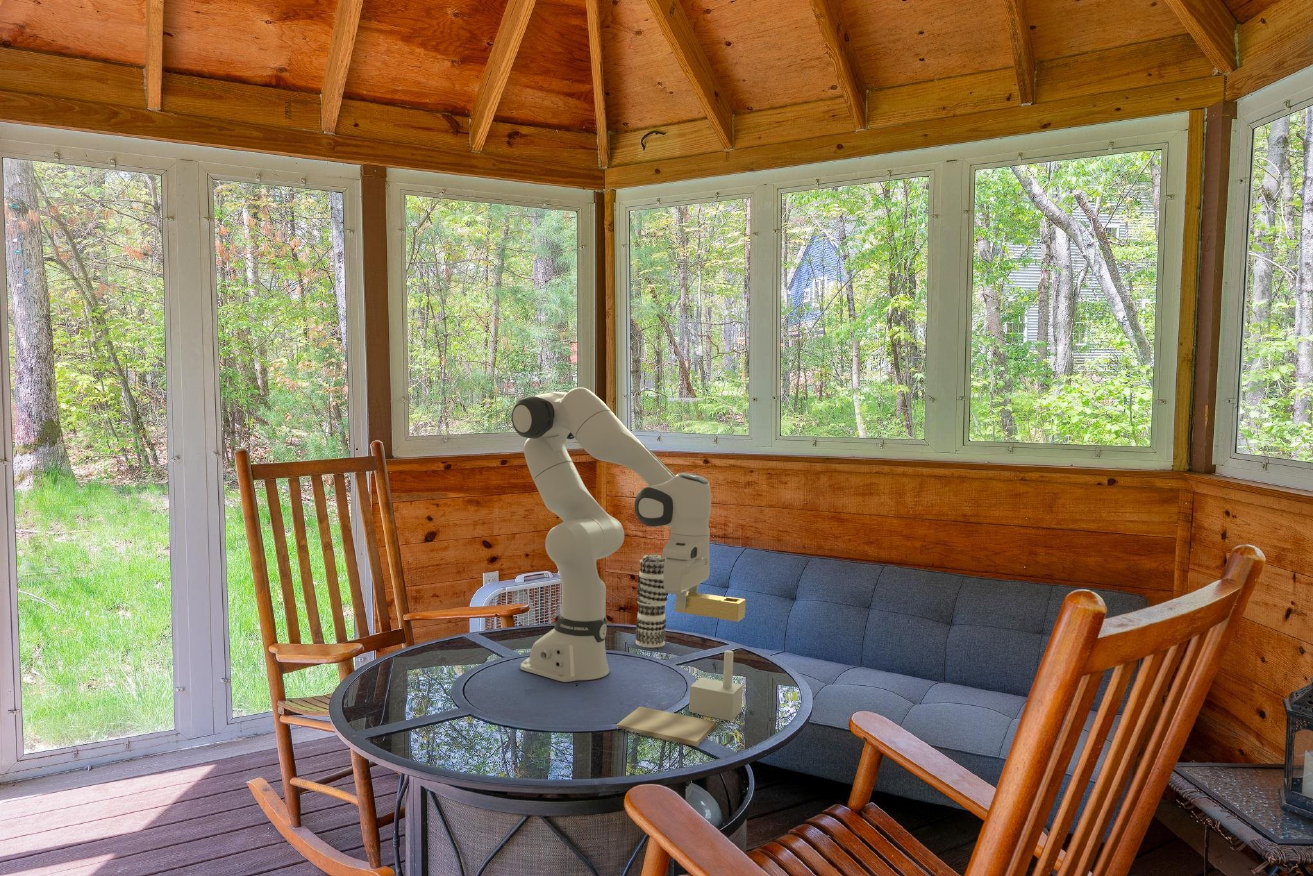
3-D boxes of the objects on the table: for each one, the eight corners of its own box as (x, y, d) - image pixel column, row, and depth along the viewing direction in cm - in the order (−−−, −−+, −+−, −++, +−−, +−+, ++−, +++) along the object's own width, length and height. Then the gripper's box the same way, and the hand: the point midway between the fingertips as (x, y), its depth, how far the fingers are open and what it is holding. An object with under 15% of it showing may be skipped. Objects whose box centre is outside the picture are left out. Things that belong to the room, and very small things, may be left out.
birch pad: (616, 729, 178) (616, 724, 178) (639, 710, 189) (640, 706, 189) (696, 746, 171) (696, 741, 171) (716, 726, 182) (716, 721, 182)
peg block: (688, 712, 189) (691, 650, 189) (699, 702, 196) (702, 642, 195) (731, 721, 185) (734, 657, 185) (741, 710, 192) (744, 649, 191)
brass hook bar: (674, 612, 191) (675, 594, 191) (682, 607, 196) (683, 590, 196) (737, 621, 185) (738, 603, 185) (744, 616, 190) (745, 599, 190)
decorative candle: (631, 646, 238) (634, 557, 237) (637, 637, 247) (640, 552, 246) (663, 649, 236) (667, 560, 235) (668, 640, 245) (672, 554, 244)
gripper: (692, 538, 203) (689, 595, 204) (659, 550, 184) (656, 613, 185) (717, 540, 200) (714, 598, 201) (686, 554, 182) (683, 617, 182)
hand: (686, 606), depth 193 cm, fingers closed on brass hook bar, 4 cm apart
